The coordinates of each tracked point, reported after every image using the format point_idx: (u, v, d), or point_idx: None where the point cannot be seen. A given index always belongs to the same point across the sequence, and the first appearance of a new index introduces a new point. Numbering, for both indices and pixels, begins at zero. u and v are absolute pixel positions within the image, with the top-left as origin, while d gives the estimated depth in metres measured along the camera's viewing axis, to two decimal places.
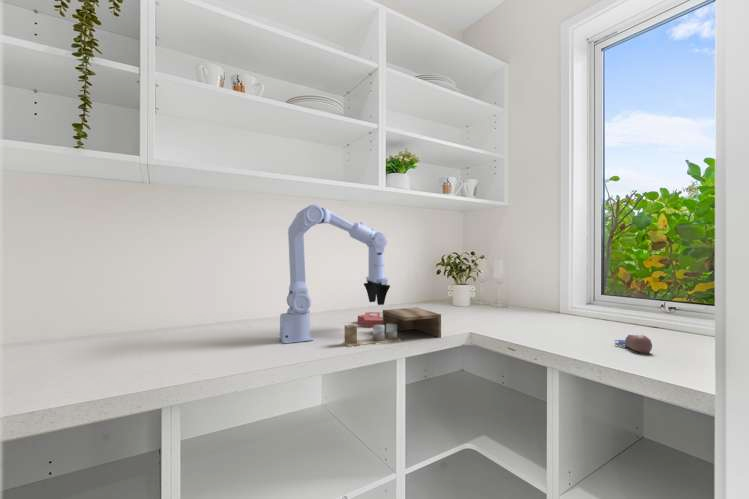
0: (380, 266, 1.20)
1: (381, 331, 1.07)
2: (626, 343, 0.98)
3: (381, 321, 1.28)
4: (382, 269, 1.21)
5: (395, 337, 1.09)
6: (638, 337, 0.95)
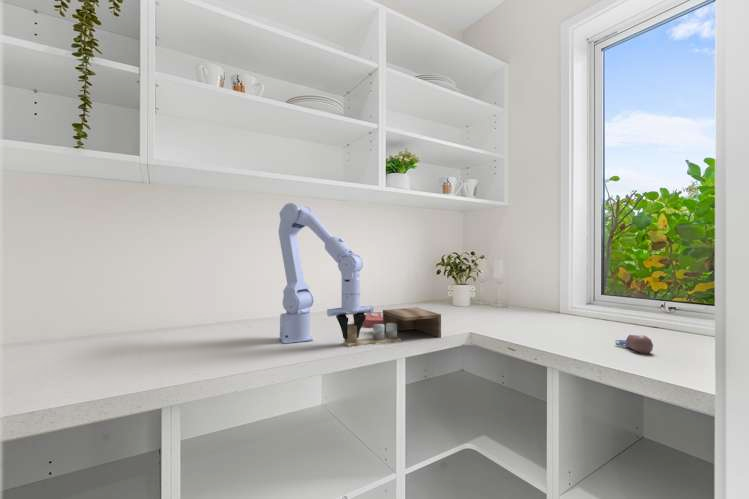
0: (342, 295, 1.03)
1: (381, 330, 1.07)
2: (627, 343, 0.98)
3: None
4: (344, 299, 1.02)
5: (395, 336, 1.09)
6: (639, 337, 0.95)
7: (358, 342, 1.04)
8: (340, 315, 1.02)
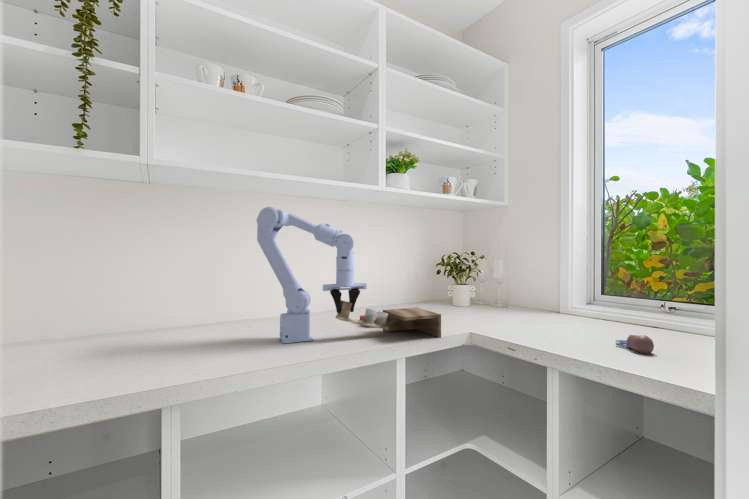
0: (337, 271, 1.10)
1: (373, 314, 1.13)
2: (628, 343, 0.98)
3: None
4: (338, 275, 1.09)
5: (384, 324, 1.15)
6: (640, 337, 0.95)
7: (349, 319, 1.10)
8: (335, 290, 1.09)
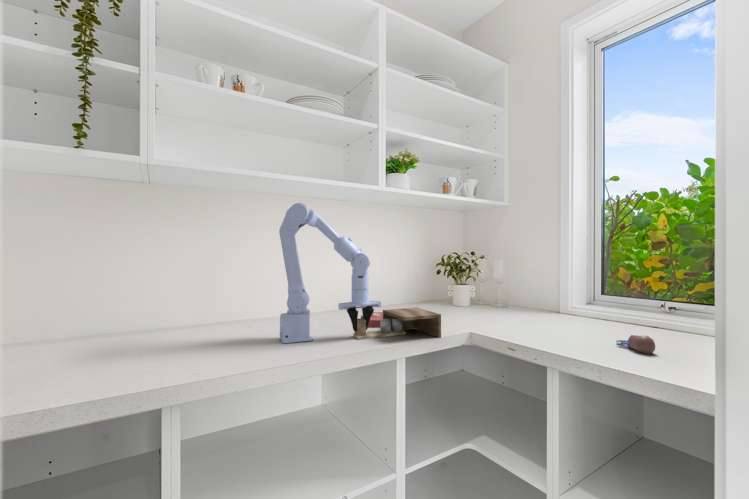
0: (352, 290, 1.12)
1: (388, 324, 1.15)
2: (629, 343, 0.98)
3: None
4: (354, 293, 1.11)
5: (401, 330, 1.18)
6: (641, 337, 0.95)
7: (367, 335, 1.13)
8: (350, 309, 1.11)
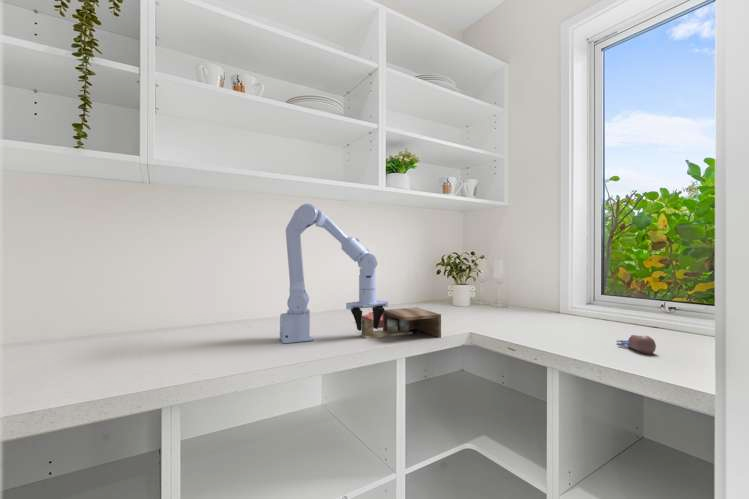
0: (360, 290, 1.13)
1: (395, 324, 1.17)
2: (629, 344, 0.98)
3: None
4: (362, 293, 1.12)
5: (407, 330, 1.19)
6: (642, 338, 0.94)
7: (374, 335, 1.14)
8: (358, 308, 1.12)
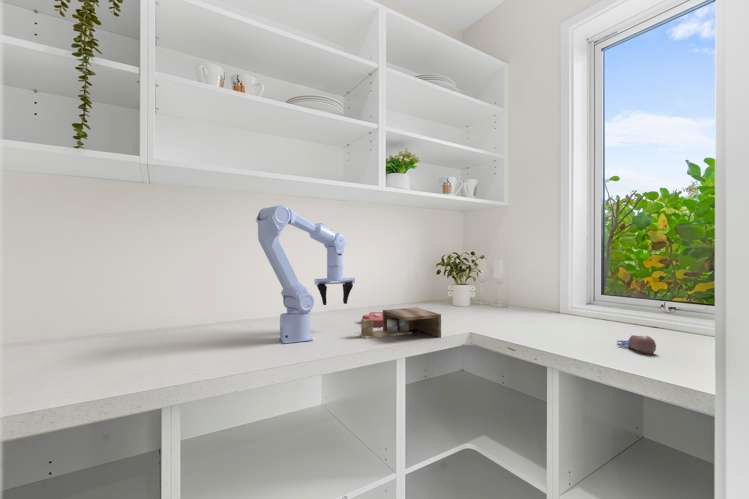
0: (327, 267, 1.21)
1: (395, 324, 1.16)
2: (629, 344, 0.98)
3: None
4: (329, 270, 1.20)
5: (407, 330, 1.19)
6: (642, 338, 0.94)
7: (374, 335, 1.14)
8: None
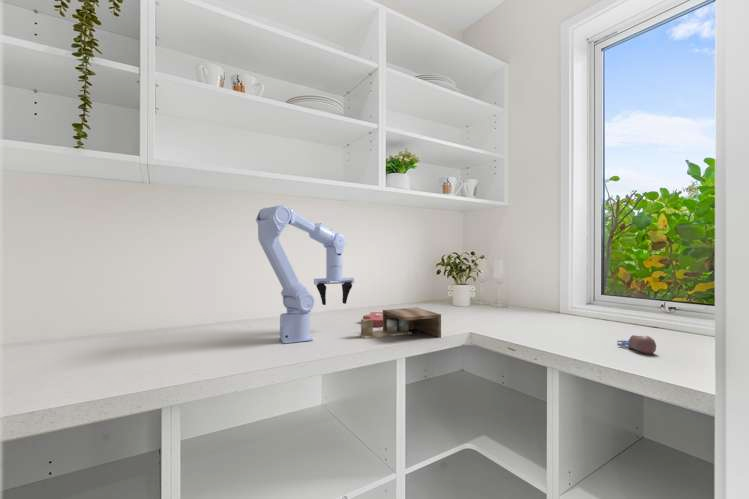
0: (327, 267, 1.21)
1: (394, 324, 1.16)
2: (630, 344, 0.98)
3: None
4: (328, 270, 1.20)
5: (407, 330, 1.19)
6: (642, 338, 0.94)
7: (374, 335, 1.14)
8: None
